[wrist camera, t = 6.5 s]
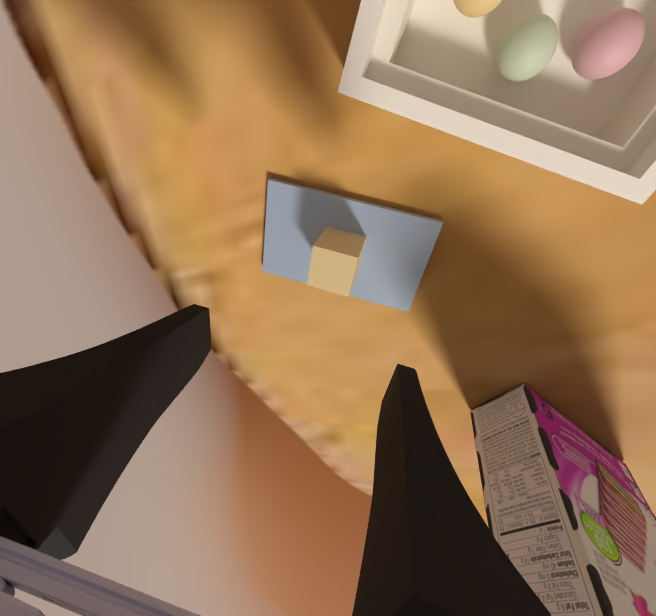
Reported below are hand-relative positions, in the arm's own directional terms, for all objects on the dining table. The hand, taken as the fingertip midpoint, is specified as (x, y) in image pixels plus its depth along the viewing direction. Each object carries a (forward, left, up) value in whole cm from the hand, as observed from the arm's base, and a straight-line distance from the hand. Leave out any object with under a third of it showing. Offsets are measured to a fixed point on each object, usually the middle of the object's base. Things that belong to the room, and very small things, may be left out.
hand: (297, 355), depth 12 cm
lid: (0, 0, -10) cm, 10 cm away
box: (-4, -12, -10) cm, 16 cm away
